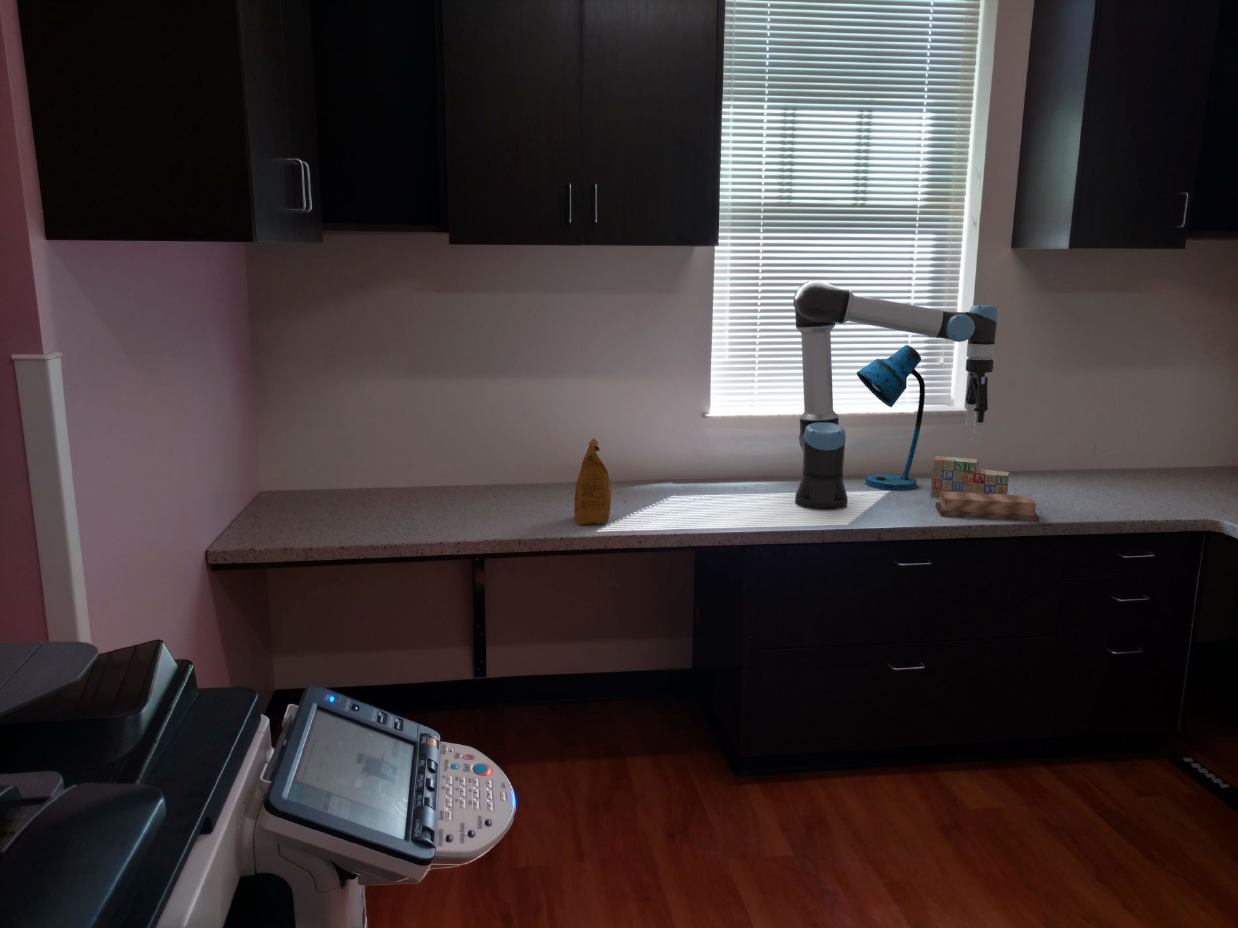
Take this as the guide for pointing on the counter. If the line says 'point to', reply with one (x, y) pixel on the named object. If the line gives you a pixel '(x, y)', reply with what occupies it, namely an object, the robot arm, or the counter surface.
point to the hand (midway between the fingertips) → (974, 429)
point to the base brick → (987, 506)
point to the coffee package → (592, 489)
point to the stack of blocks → (965, 477)
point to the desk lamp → (888, 386)
